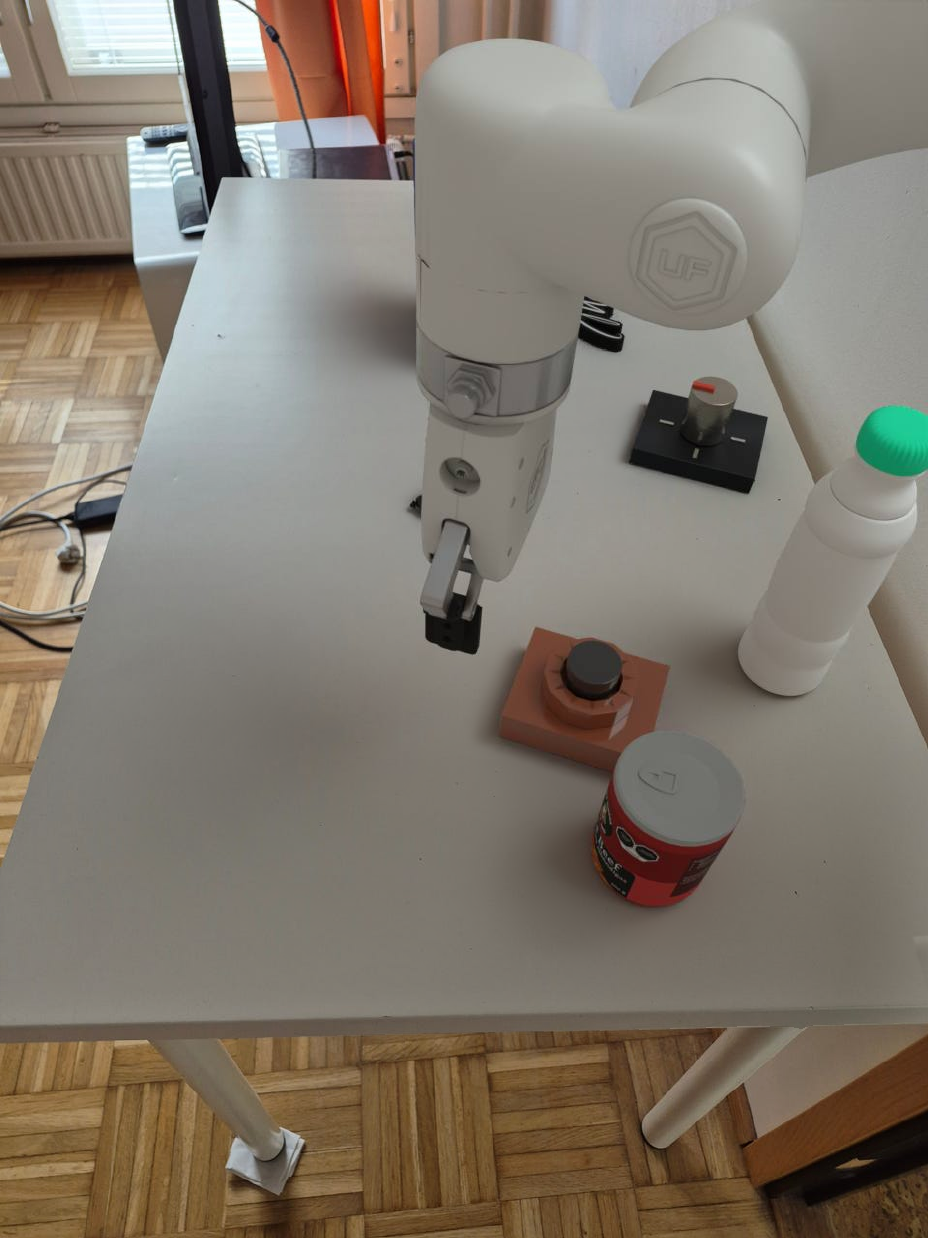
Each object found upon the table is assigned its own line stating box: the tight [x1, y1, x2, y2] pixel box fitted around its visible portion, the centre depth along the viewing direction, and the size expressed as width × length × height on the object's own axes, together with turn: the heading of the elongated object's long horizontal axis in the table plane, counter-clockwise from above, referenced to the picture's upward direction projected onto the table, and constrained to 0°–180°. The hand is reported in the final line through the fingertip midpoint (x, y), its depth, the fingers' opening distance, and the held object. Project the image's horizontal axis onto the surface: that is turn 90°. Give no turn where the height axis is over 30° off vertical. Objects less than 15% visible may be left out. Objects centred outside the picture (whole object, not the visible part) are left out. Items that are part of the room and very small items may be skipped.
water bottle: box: [737, 405, 928, 697], centre depth 63 cm, size 7×7×25 cm
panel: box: [628, 389, 769, 494], centre depth 89 cm, size 12×10×2 cm
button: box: [564, 641, 622, 700], centre depth 65 cm, size 4×4×2 cm
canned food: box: [590, 729, 746, 908], centre depth 58 cm, size 8×8×11 cm
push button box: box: [498, 626, 671, 773], centre depth 68 cm, size 11×9×5 cm
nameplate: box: [578, 296, 626, 353], centre depth 108 cm, size 27×2×10 cm
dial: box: [680, 376, 739, 446], centre depth 86 cm, size 4×4×5 cm
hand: (478, 586), depth 55 cm, fingers open, 9 cm apart
